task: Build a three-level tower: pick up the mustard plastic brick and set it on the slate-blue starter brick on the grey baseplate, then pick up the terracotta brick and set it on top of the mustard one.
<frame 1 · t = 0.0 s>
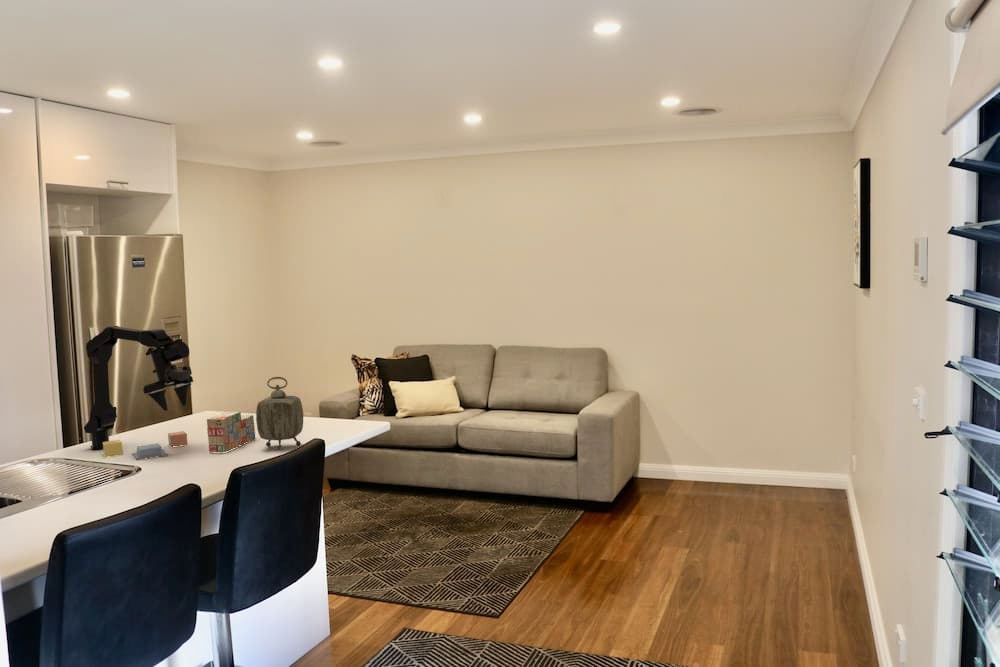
hand: (175, 408, 291), 15 cm above the table, tool pointing down, fingers open, 9 cm apart
tabletop clock: (281, 448, 292), on the table
terracotta brick: (178, 445, 303), on the table
stack of blocks: (233, 446, 298), on the table
mustard brick: (113, 454, 292), on the table
baseplate: (149, 455, 289), on the table
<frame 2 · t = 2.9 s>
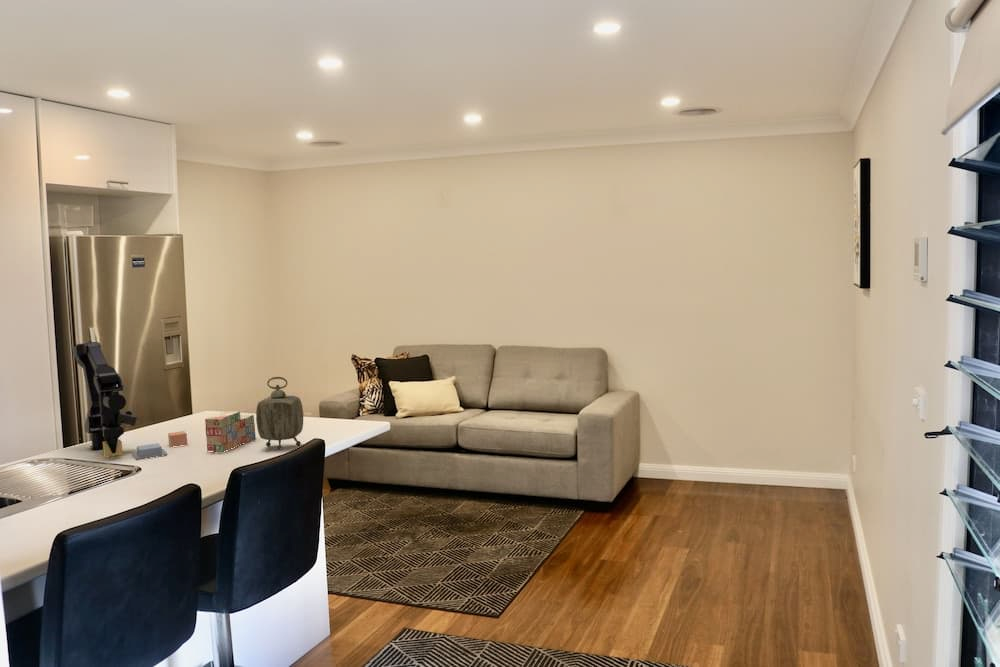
hand: (112, 451, 292), 1 cm above the table, tool pointing down, fingers closed on mustard brick, 5 cm apart
mustard brick: (113, 454, 292), on the table, touching gripper
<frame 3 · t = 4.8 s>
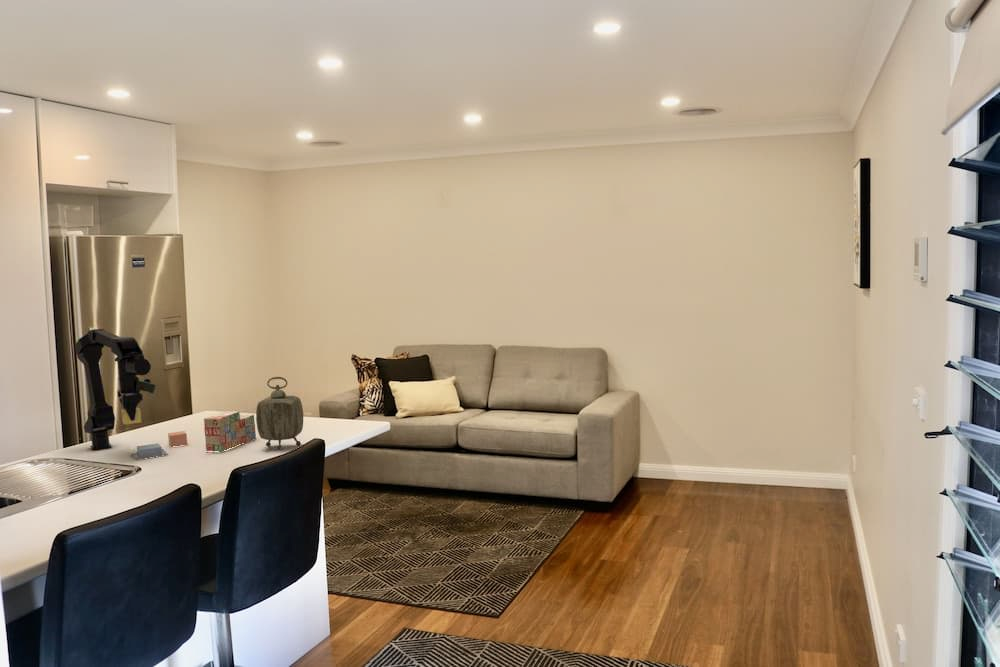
hand: (131, 419, 289), 13 cm above the table, tool pointing down, fingers closed on mustard brick, 5 cm apart
mustard brick: (131, 422, 289), point 12 cm above the table, touching gripper
when the fingers open (5 cm above the table, at t = 6.9 s): mustard brick stays where it is, resting on baseplate.
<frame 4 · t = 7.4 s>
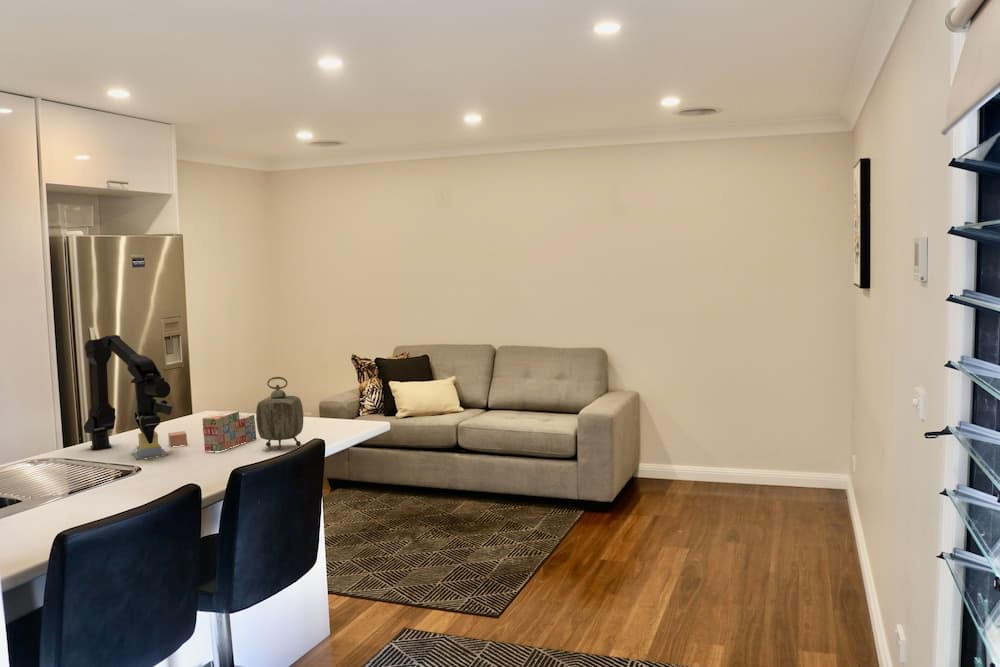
hand: (148, 440, 288), 5 cm above the table, tool pointing down, fingers open, 9 cm apart
mustard brick: (148, 446, 289), point 3 cm above the table, touching baseplate
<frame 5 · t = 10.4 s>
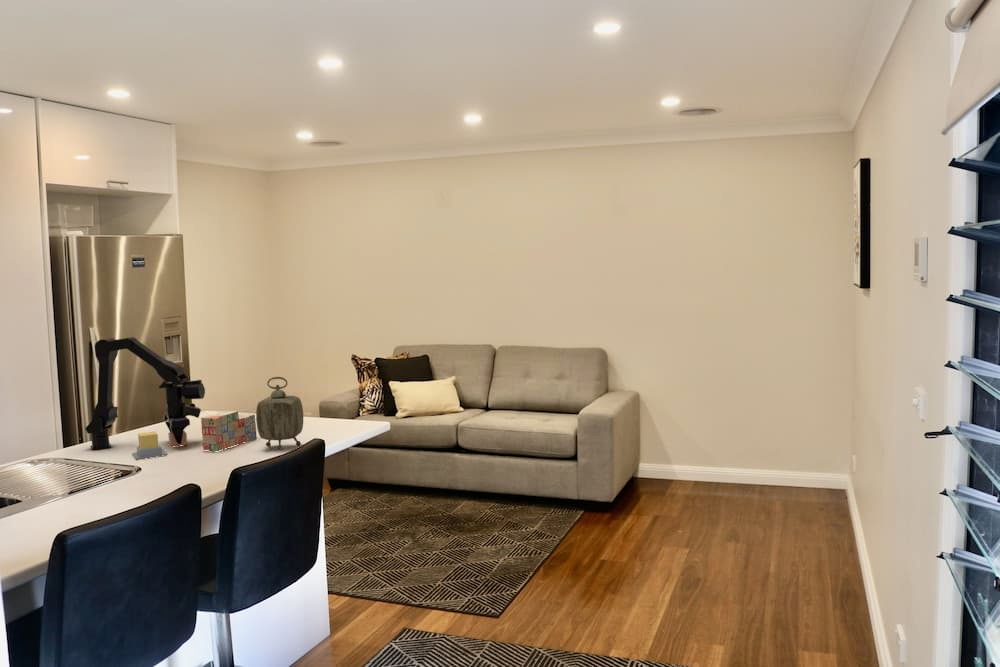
hand: (178, 442, 303), 1 cm above the table, tool pointing down, fingers closed on terracotta brick, 6 cm apart
terracotta brick: (178, 445, 303), on the table, touching gripper
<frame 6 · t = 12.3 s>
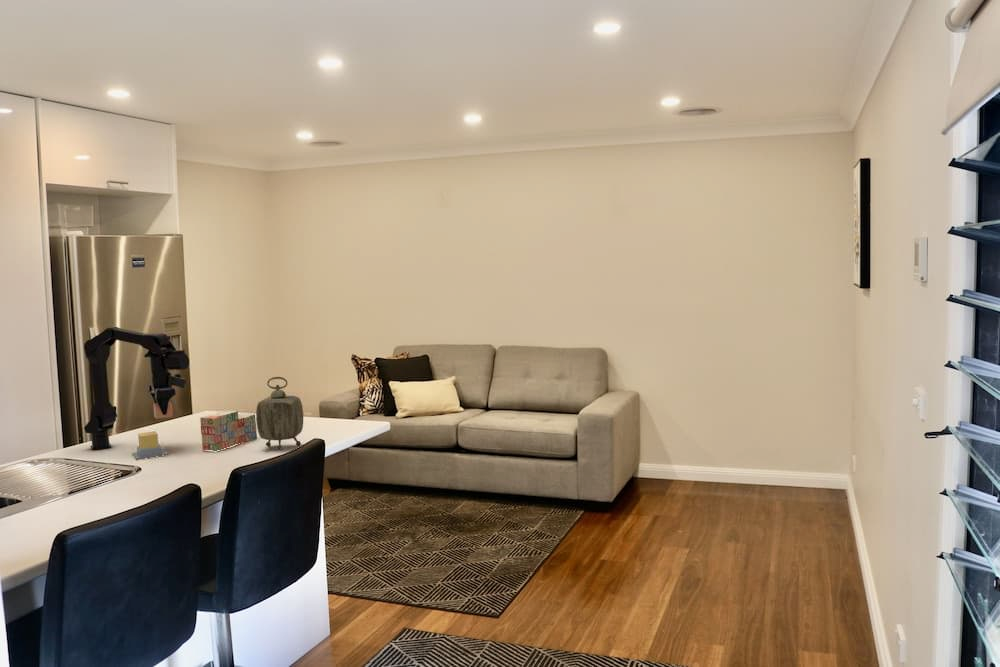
hand: (163, 413, 295), 13 cm above the table, tool pointing down, fingers closed on terracotta brick, 6 cm apart
terracotta brick: (163, 416, 296), point 12 cm above the table, touching gripper
when the fingers open (10 cm above the table, at t = 14.1 s): terracotta brick drops 1 cm, resting on mustard brick.
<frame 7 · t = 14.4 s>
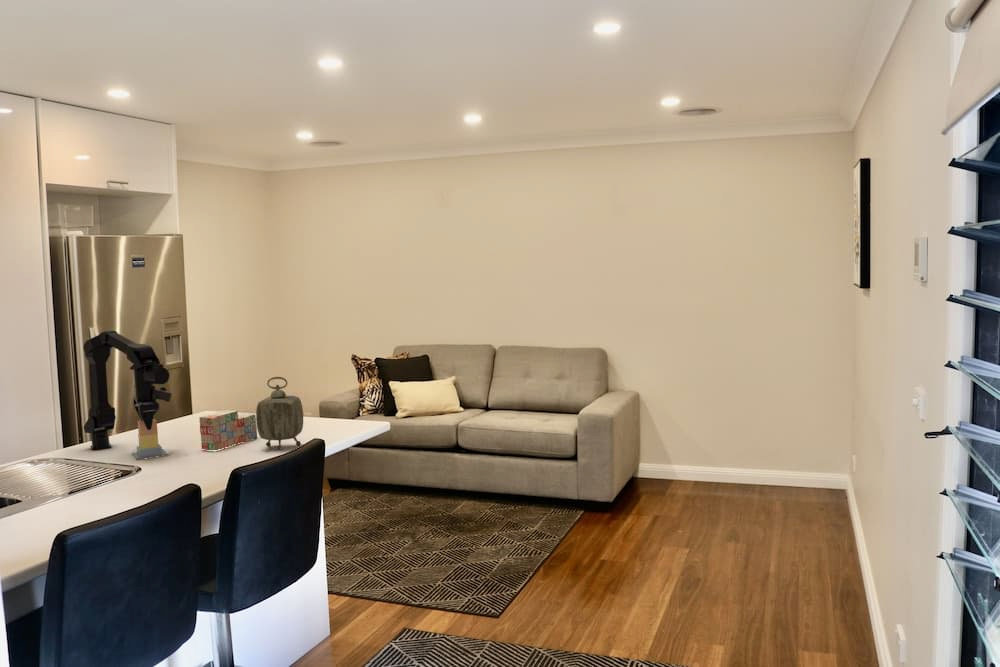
hand: (147, 427, 288), 10 cm above the table, tool pointing down, fingers open, 8 cm apart
terracotta brick: (148, 433, 288), point 7 cm above the table, touching mustard brick
mustard brick: (148, 446, 289), point 3 cm above the table, touching baseplate, terracotta brick
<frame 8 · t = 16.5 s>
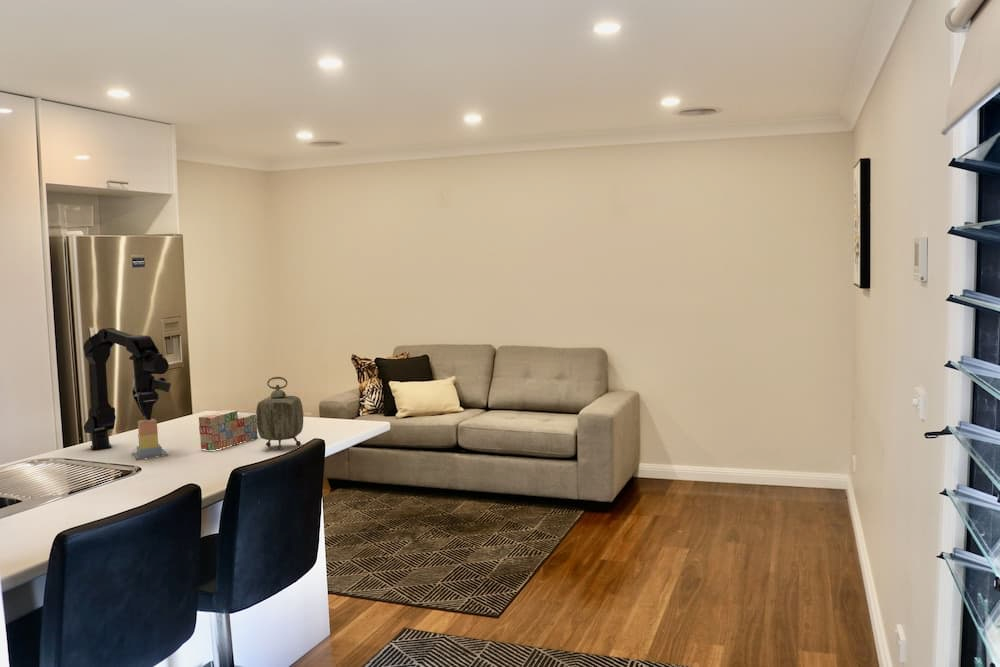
hand: (146, 418, 288), 13 cm above the table, tool pointing down, fingers open, 9 cm apart
at the end: mustard brick 0.1 cm off-centre on the baseplate, point 3.0 cm above the baseplate's base; terracotta brick 0.0 cm off-centre on the baseplate, point 7.5 cm above the baseplate's base; terracotta brick tilted 0° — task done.
